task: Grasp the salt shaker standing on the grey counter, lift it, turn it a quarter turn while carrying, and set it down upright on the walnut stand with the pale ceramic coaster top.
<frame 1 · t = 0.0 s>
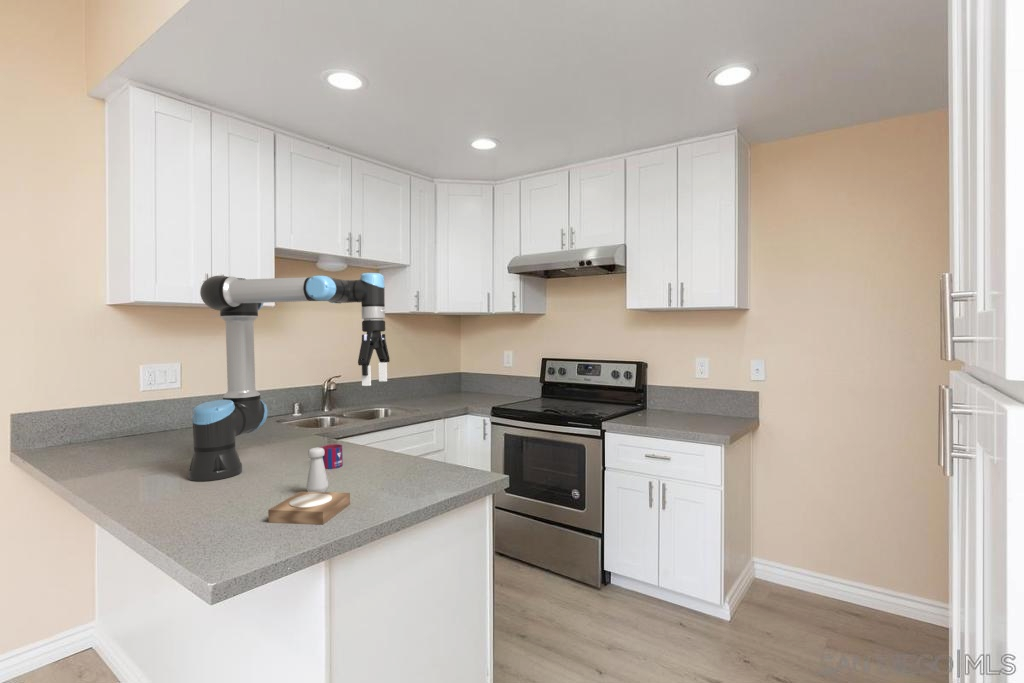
hand: (375, 383, 171), 28 cm above the countertop, fingers open, 13 cm apart
stand: (311, 512, 129), on the countertop
mug: (328, 466, 174), on the countertop
salt shaker: (317, 495, 144), on the countertop
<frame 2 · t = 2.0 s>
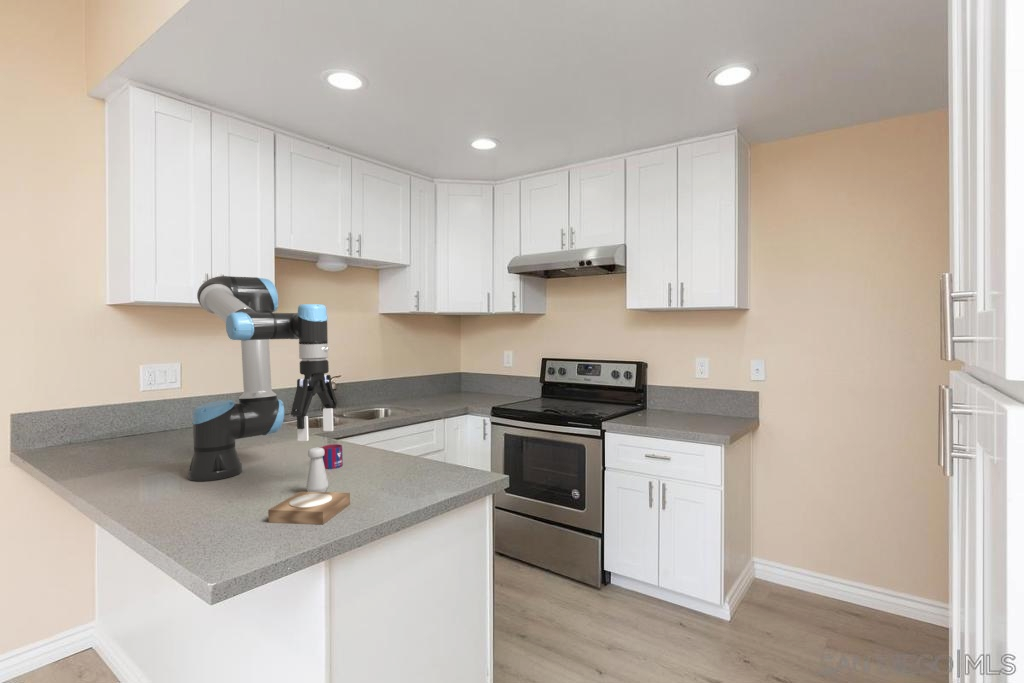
hand: (316, 435, 143), 17 cm above the countertop, fingers open, 13 cm apart
nothing on the countertop moved.
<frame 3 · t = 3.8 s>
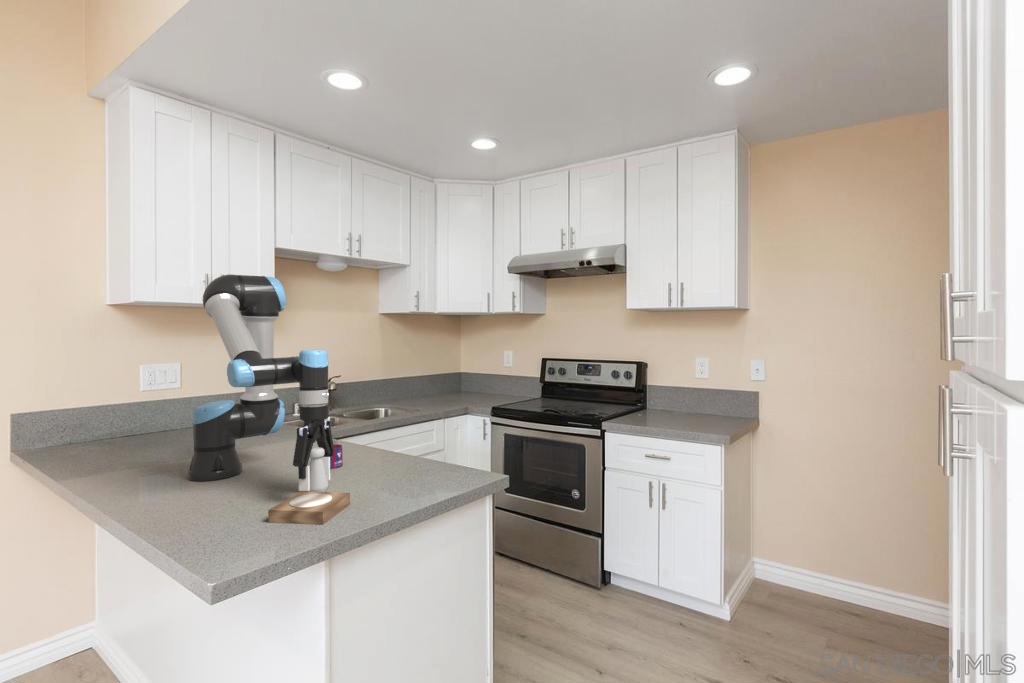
hand: (315, 484, 142), 3 cm above the countertop, fingers open, 10 cm apart
nothing on the countertop moved.
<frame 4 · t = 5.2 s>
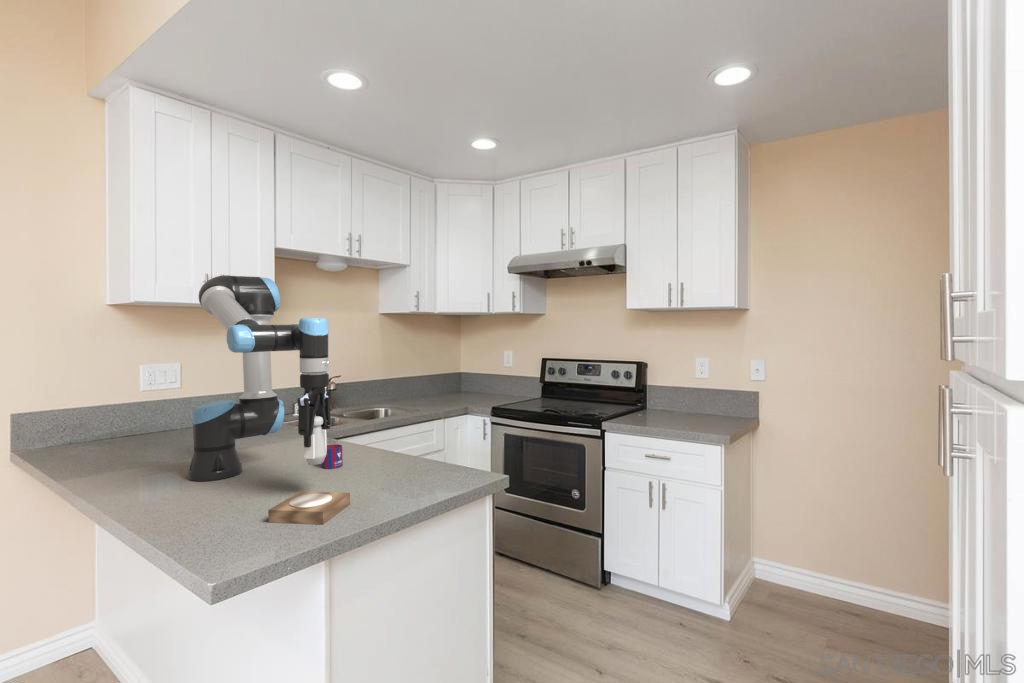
hand: (315, 455, 144), 11 cm above the countertop, fingers closed on salt shaker, 6 cm apart
salt shaker: (315, 463, 144), point 9 cm above the countertop, touching gripper
everything else where it was.
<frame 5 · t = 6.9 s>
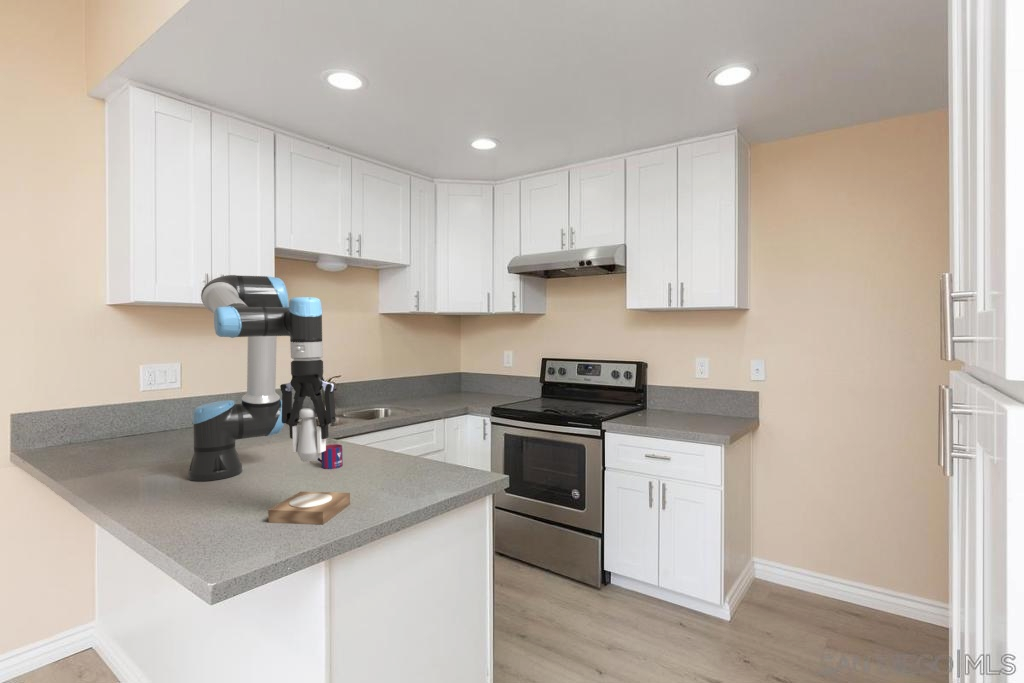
hand: (309, 451, 128), 16 cm above the countertop, fingers closed on salt shaker, 6 cm apart
salt shaker: (309, 460, 128), point 13 cm above the countertop, touching gripper
everything else where it was.
when the fingers open (6 cm above the countertop, at t = 9.2 s): salt shaker stays where it is, resting on stand.
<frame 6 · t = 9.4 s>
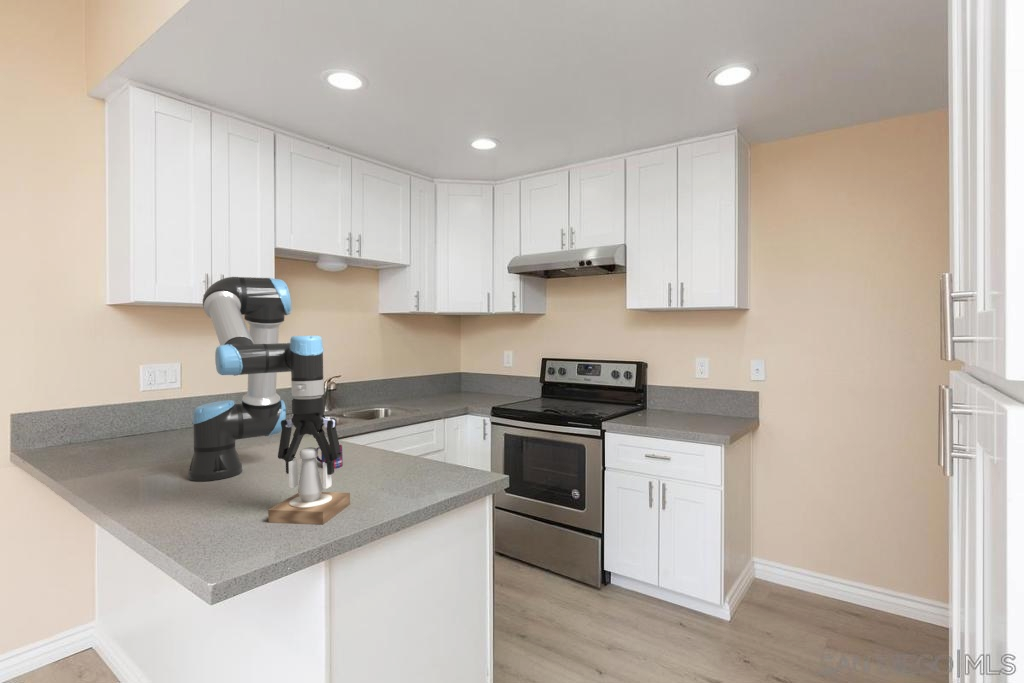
hand: (310, 486, 129), 7 cm above the countertop, fingers open, 8 cm apart
salt shaker: (310, 500, 129), point 3 cm above the countertop, touching stand
everything else where it was.
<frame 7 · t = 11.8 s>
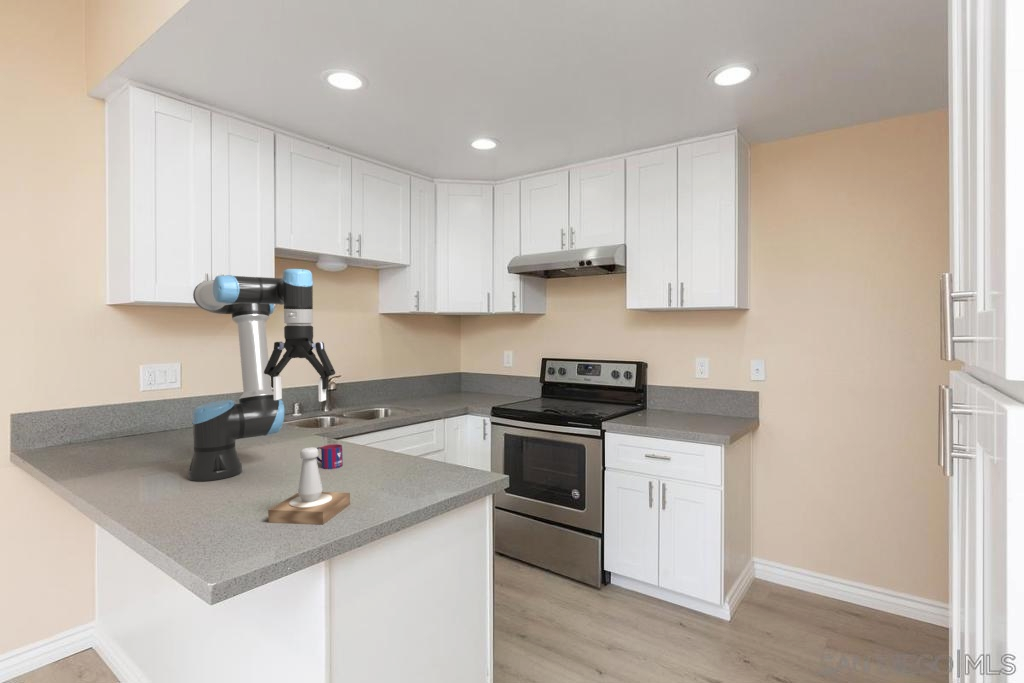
hand: (299, 400, 144), 26 cm above the countertop, fingers open, 13 cm apart
nothing on the countertop moved.
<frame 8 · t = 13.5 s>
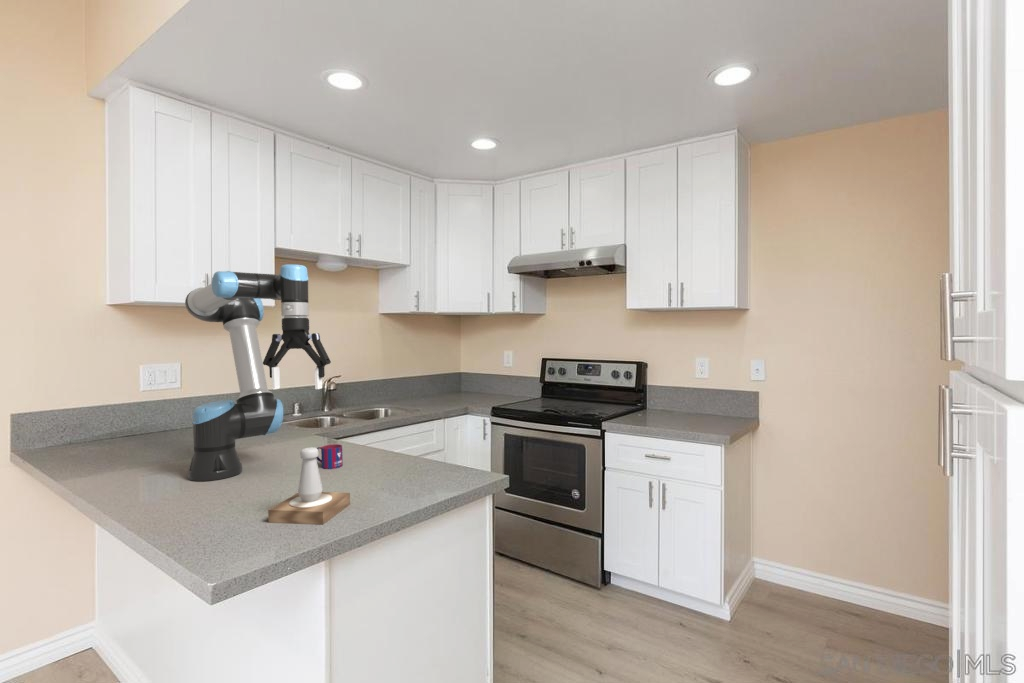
hand: (297, 388, 152), 29 cm above the countertop, fingers open, 13 cm apart
nothing on the countertop moved.
at the end: salt shaker inside the target area on the stand (0.1 cm from its centre), point 3.1 cm above the stand's base; salt shaker tilted 0°; the gripper is holding nothing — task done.
